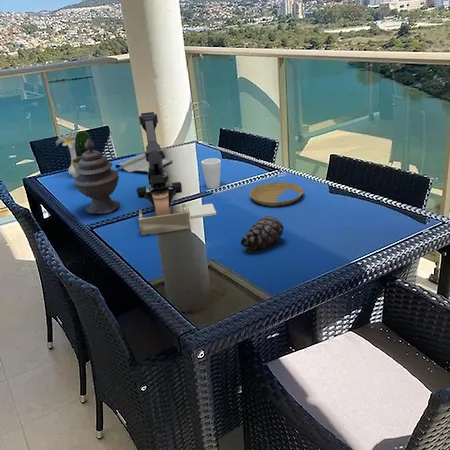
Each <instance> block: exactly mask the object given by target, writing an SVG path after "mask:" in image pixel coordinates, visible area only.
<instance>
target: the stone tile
mask: <svg viewBox="0 0 450 450" xmlns="http://www.w3.org/2000/svg"><path fill="white" fill-rule="evenodd" d="M213 204H214V203H206V204H200V205H193V206H188V207H187V209H188V210H187V211H188V212H189V218H190V219H197V218H204V217H210V216H217V211H216V209H215V207H214V205H213Z"/></svg>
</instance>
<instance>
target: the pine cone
mask: <svg viewBox="0 0 450 450" xmlns="http://www.w3.org/2000/svg"><path fill="white" fill-rule="evenodd" d="M283 233H284V225H283V223H282V221H280V220H279V219H278V218H277V217H275V216H270V215H265V216H262V217H261V218H259V219H258V220H257V221H256V222H255V223H254V224H253V225H252V226H251V227H250V229H249V230H248V231H246V233H245V235H243V236H242V237H241V241H240V245H241V246H243V247H244V248H245V249H244V250H243V252H244V253H245V251H246V252H247V253H258V252H260V253H261V252H263V251H266V250H268V249H270V248H272V247H273V246H275V245H278V244H279V243H281V240H280V237H281V236H282V235H283Z"/></svg>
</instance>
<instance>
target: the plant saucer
mask: <svg viewBox="0 0 450 450" xmlns="http://www.w3.org/2000/svg"><path fill="white" fill-rule="evenodd" d="M284 189H285V192H286V189H291V190H294V191H296V192H298V193H299V196H298V197H296V198H294V199H291V200H287V201H282V202H279V201H278V202H277V201H276V200H277V199H275V198H279V197H280V196H279V197H278V195H279V194H280V193H281V195H282V194H283V191H284ZM285 192H284V193H285ZM303 193H304V189H303V188H302V187H301V186H300V185H297V184H294V183H290V182H280V181H279V182H267V183H264V184H260V185H256V186H254V187H253V188H252V189H251V190H250V191H249V196H250V198H251V199H252V201H254V202H255V203H257V204H260V205H262V206H266V205H267V206H268V207H280V206H279V205H282V206H286V205H285V204H287V205H290V204H293V203H295V202H296V201H297V200H299V199H300V198H301V196H302V195H303ZM277 194H278V195H277ZM276 195H277V196H276ZM281 198H282V196H281ZM278 200H279V199H278ZM294 201H295V202H294ZM292 202H293V203H292ZM289 203H290V204H289Z"/></svg>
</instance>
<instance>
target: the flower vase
mask: <svg viewBox="0 0 450 450" xmlns="http://www.w3.org/2000/svg"><path fill="white" fill-rule="evenodd" d="M78 131H79V130H78ZM78 131H75V133H74V132H73V131H71V130H70V131H69V134H67V135H66V133H65V132H61V134H58V136H57V140H56V141H55V144H56V145H55V147H57V146H58V145H60V144H61V143H62V146H63V147H66V146H67V148H68V150H69V154H70V160H71V161H72V160H73V159H74V158H77V157H78V155H77V150H76V147H75V145H74V144H75V138H76V136H75V135H76V134H77V132H78ZM85 132H86V133H87V134H88V131H85ZM67 171H68V173H69V174H70V175H71V176H72V178H76V177H77V175H76V172H75V169H74V167H73V164H72V162H71V163H70V165H69V167H68V170H67Z"/></svg>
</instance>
